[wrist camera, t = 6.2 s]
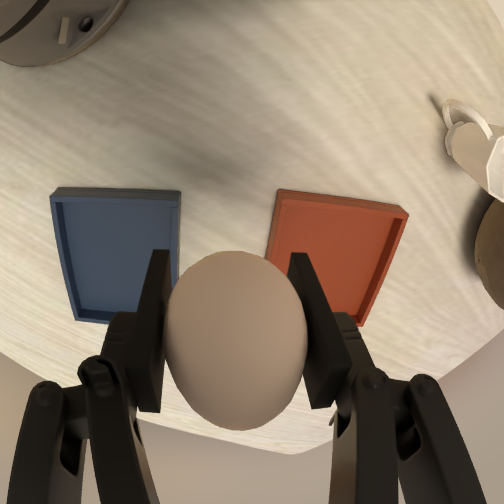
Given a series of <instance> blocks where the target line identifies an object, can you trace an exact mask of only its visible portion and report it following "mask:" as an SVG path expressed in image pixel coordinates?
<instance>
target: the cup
mask: <svg viewBox="0 0 504 504" xmlns="http://www.w3.org/2000/svg"><path fill="white" fill-rule="evenodd" d="M449 107H452V108H455V109H457V110H459V111H461V112H463V113H464V114H466V115H467V116H469V117H470V118H471V119H472V120H473V121H474V122H476V123H466V124H465V123H464V122H462V121H459V122H457V123H455V124H453V123H452V121H451V118H450V114H449ZM442 113H443V119H444V122H445V125H446V126H447V128H448V132H447V134H446V137H445V140H444V141H445V145H446V150H447V154H448V155H450V156H451V157H453V158H454V160H455V161H456V162H457V163H458V164H459V165H460V166H461V168H462V169H463V170H464V171H466V172H467V173H468V174H469V175H470V176H471V177H472V178H473V179H474V180H475V181H476V182H477V183H479V184H480V185H481V186H482V187H483V188H484V189H485V190H486V191H487V192H488V193H489V194H490V195H492V196H494V197H495V198H497V199H498V200H500V201H501V202H504V127H500V126H495V125H490V124H487V122H486V121H485V120H484V119H483V117H482V116H481V115H479V114H478V113H477V112H476V111H475V110H474V109H472V108H471V107H469V106H467V105H466V104H464V103H462V102H460V101H457V100H454V99H450V100H447V101H446V103H445V104H444V105H443V107H442Z"/></svg>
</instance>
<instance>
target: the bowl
mask: <svg viewBox="0 0 504 504" xmlns="http://www.w3.org/2000/svg"><path fill="white" fill-rule="evenodd" d="M475 263H476V268H477V272H478V274H479V276H480V278H481V280H482V283H483V285H484V287H485V289H486V290H487V292H488V293H489V295H490V296H491V298H492V299H493V300H494V301H495V303H496V304H497V305H498V306H499V307H500V308H502V309H503V310H504V202H501V201H500V200H498V199H497V198H495V200H494V201H493V203H492V204H491V205H490V207H489V209H488V210H487V212H486V213H485V215H484V217H483V219H482V222H481V225H480V227H479V230H478V232H477V236H476V241H475Z"/></svg>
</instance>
